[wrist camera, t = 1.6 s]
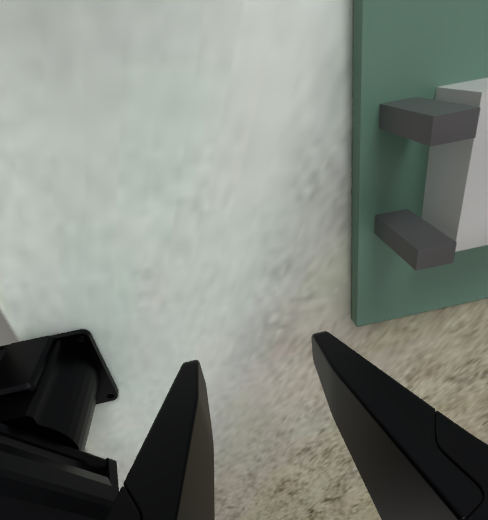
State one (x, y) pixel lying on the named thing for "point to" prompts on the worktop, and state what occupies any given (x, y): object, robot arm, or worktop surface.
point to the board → (419, 156)
